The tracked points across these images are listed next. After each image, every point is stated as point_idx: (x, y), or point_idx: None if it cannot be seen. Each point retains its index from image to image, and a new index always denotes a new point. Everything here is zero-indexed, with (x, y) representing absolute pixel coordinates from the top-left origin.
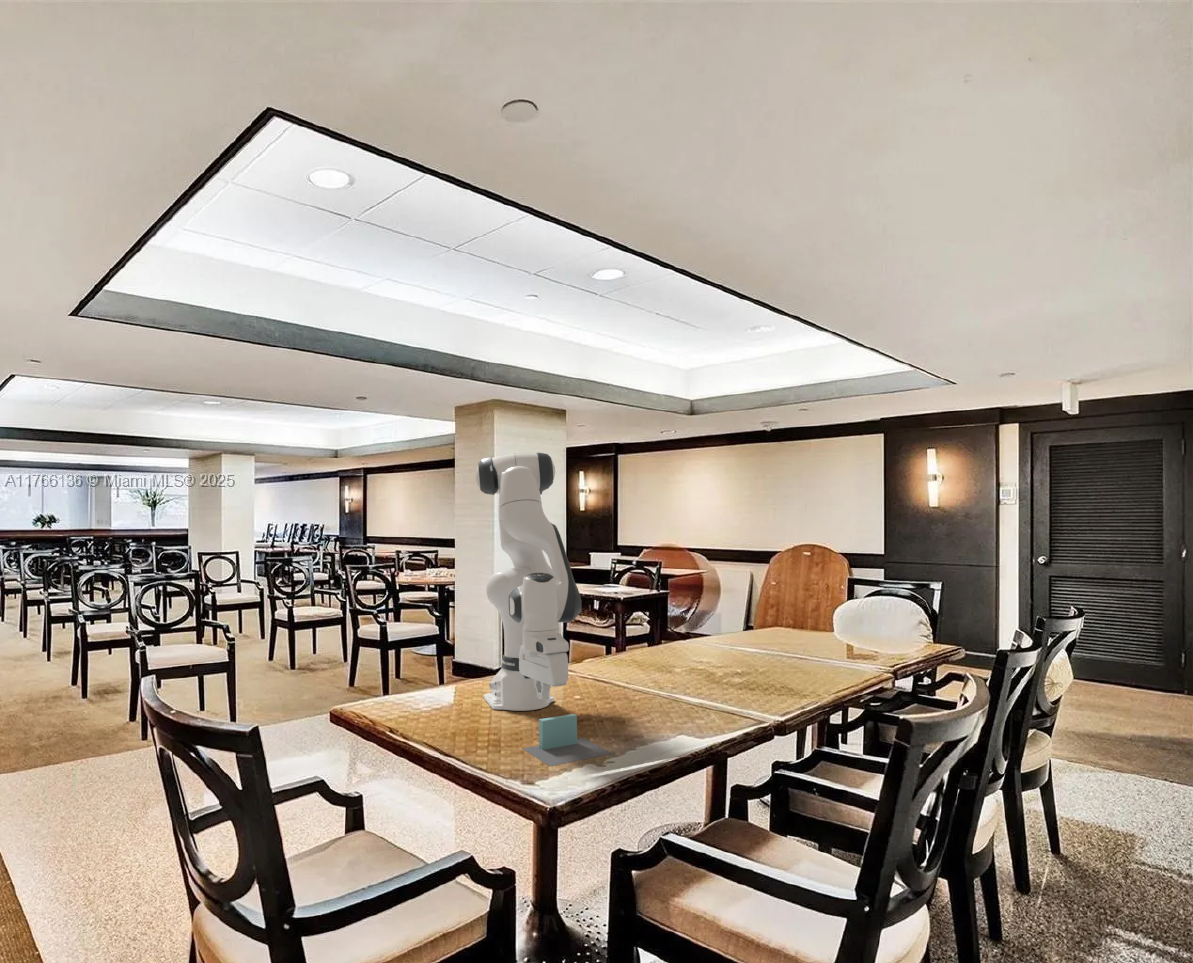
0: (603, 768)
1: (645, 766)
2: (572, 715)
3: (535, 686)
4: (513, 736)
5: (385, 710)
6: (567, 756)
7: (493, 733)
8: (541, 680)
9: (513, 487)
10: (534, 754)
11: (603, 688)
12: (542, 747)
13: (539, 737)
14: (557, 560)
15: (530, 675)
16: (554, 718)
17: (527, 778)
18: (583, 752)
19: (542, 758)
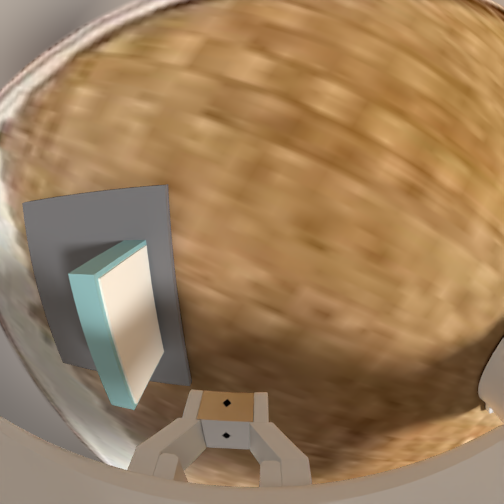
0: (21, 305)
1: (28, 362)
2: (115, 397)
3: (285, 443)
4: (355, 232)
5: None
6: (59, 274)
7: (420, 188)
8: (88, 469)
9: None
10: (95, 199)
11: None
12: (120, 242)
13: (126, 249)
14: None
15: (333, 501)
16: (88, 332)
17: (13, 137)
18: (77, 322)
19: (62, 207)
